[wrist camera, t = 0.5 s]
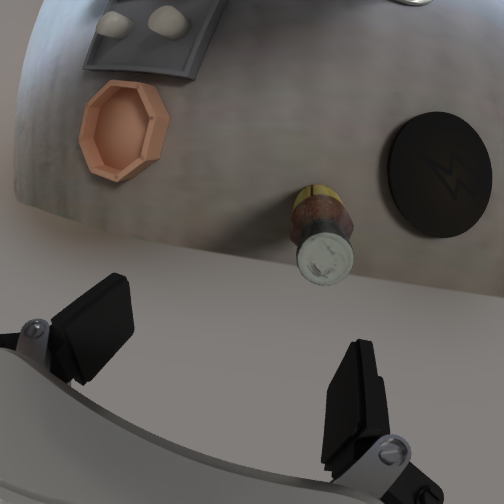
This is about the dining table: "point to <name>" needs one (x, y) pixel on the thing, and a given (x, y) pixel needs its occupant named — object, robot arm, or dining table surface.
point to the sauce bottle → (321, 235)
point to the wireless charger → (439, 174)
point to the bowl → (123, 129)
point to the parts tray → (156, 40)
